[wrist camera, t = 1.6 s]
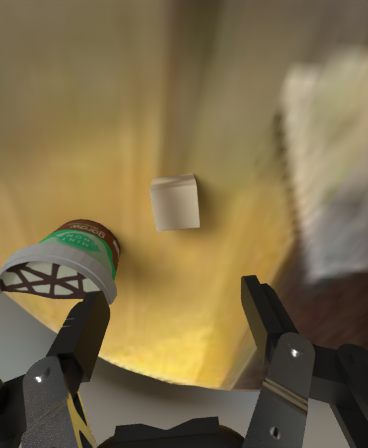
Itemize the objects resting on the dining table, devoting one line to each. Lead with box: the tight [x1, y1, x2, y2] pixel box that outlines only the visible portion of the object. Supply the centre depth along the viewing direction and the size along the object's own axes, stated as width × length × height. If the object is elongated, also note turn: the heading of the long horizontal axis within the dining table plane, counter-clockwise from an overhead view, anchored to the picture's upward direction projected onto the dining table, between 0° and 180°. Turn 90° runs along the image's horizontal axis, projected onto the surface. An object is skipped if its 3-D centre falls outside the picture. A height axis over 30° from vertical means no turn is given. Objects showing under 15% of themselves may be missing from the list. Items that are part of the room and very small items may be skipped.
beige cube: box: [149, 174, 200, 232], centre depth 25 cm, size 5×5×5 cm
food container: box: [0, 219, 120, 306], centre depth 25 cm, size 12×6×10 cm, turn 80°
